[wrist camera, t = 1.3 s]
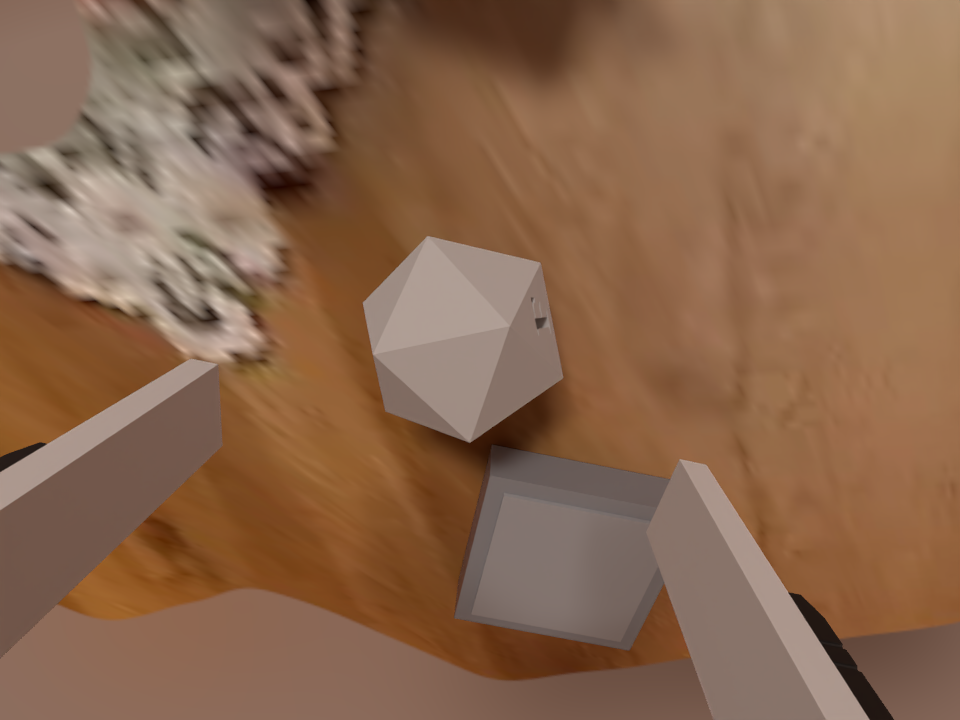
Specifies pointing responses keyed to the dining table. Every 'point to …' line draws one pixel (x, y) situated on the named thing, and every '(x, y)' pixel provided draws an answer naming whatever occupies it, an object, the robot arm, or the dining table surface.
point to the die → (461, 337)
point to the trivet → (561, 549)
